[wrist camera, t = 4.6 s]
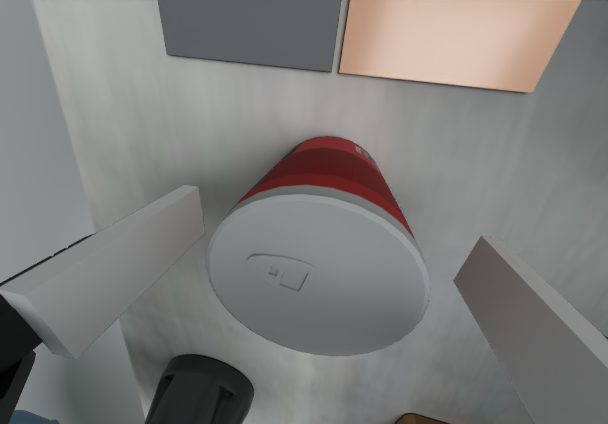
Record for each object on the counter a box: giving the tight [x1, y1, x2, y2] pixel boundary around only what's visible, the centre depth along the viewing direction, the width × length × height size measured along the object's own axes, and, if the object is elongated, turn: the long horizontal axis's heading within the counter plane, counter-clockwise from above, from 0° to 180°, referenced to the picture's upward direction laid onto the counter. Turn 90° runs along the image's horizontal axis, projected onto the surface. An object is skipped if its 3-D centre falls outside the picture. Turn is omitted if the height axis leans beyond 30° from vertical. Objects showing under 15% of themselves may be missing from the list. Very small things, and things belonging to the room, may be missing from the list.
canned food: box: [206, 136, 430, 356], centre depth 12 cm, size 8×8×11 cm
